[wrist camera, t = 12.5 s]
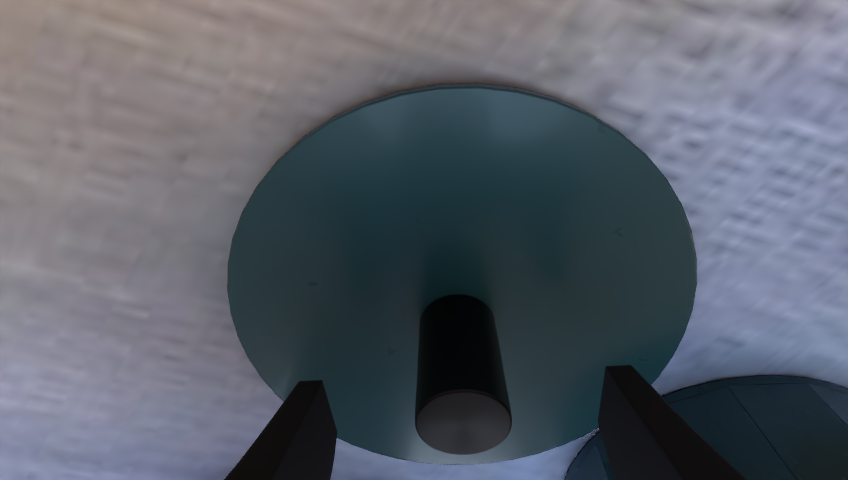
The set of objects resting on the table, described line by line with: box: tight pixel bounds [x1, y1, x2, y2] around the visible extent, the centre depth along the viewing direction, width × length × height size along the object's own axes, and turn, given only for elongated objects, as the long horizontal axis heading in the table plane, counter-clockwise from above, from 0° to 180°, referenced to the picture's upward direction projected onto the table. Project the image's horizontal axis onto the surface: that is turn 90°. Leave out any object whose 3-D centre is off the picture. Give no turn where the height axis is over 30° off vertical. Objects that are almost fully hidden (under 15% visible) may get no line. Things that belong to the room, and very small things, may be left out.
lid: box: [227, 83, 697, 465], centre depth 13 cm, size 15×15×5 cm
